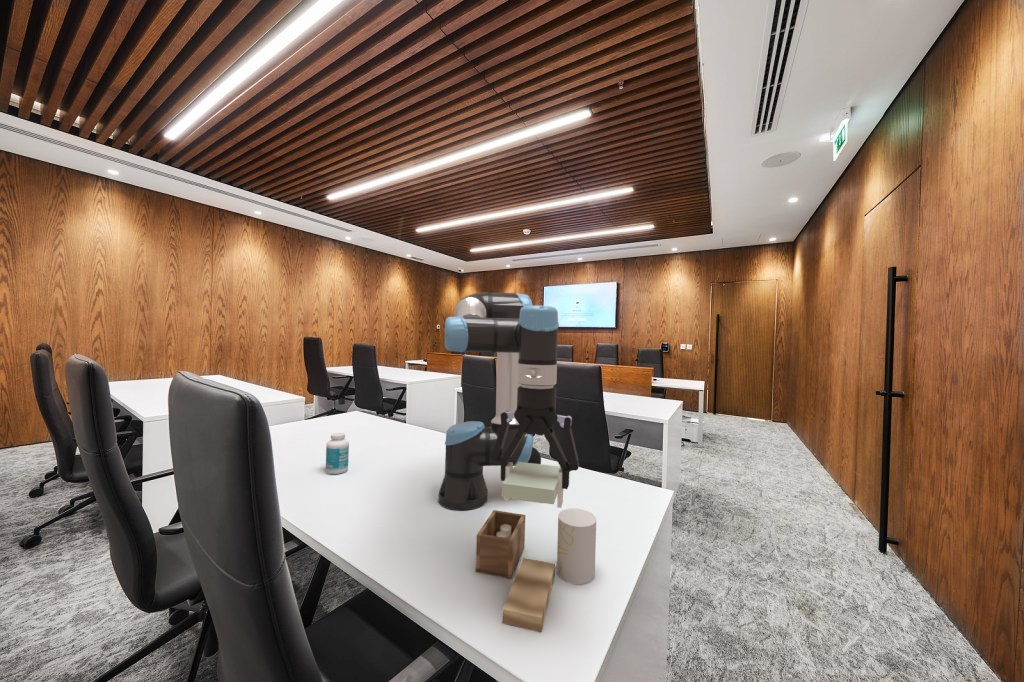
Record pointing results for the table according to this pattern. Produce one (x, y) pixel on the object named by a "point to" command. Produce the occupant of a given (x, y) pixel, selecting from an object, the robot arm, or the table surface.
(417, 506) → the table surface
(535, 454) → the black ball
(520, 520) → the box
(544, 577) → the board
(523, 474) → the lid
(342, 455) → the pill bottle
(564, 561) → the cup
